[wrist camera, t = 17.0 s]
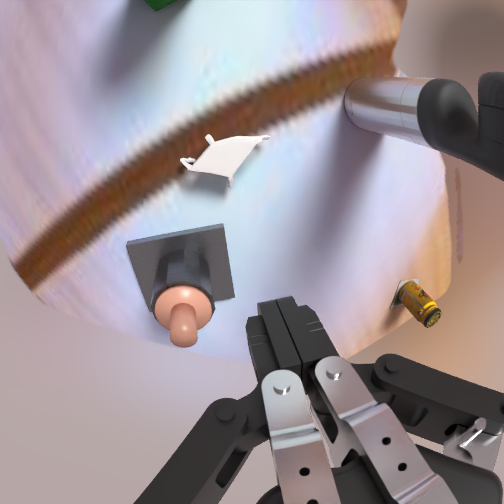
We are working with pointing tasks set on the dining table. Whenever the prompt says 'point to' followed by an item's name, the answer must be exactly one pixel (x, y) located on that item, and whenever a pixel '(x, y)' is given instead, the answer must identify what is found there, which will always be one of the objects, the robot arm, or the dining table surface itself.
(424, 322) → the condiment
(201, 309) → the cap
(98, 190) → the dining table surface
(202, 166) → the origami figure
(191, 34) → the dining table surface
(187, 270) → the flanged pipe socket
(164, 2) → the milk carton
